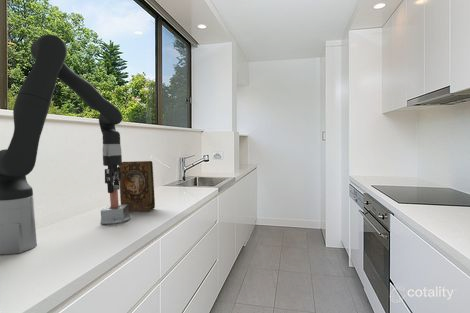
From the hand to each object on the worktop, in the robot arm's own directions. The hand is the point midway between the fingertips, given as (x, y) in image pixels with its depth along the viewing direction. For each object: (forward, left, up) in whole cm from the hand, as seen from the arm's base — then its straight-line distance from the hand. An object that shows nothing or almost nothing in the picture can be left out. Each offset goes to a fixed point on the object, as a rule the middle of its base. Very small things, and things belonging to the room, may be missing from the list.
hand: (113, 191), depth 114 cm
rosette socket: (0, 0, -13) cm, 13 cm away
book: (+16, -6, -14) cm, 22 cm away
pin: (0, 0, -11) cm, 11 cm away
